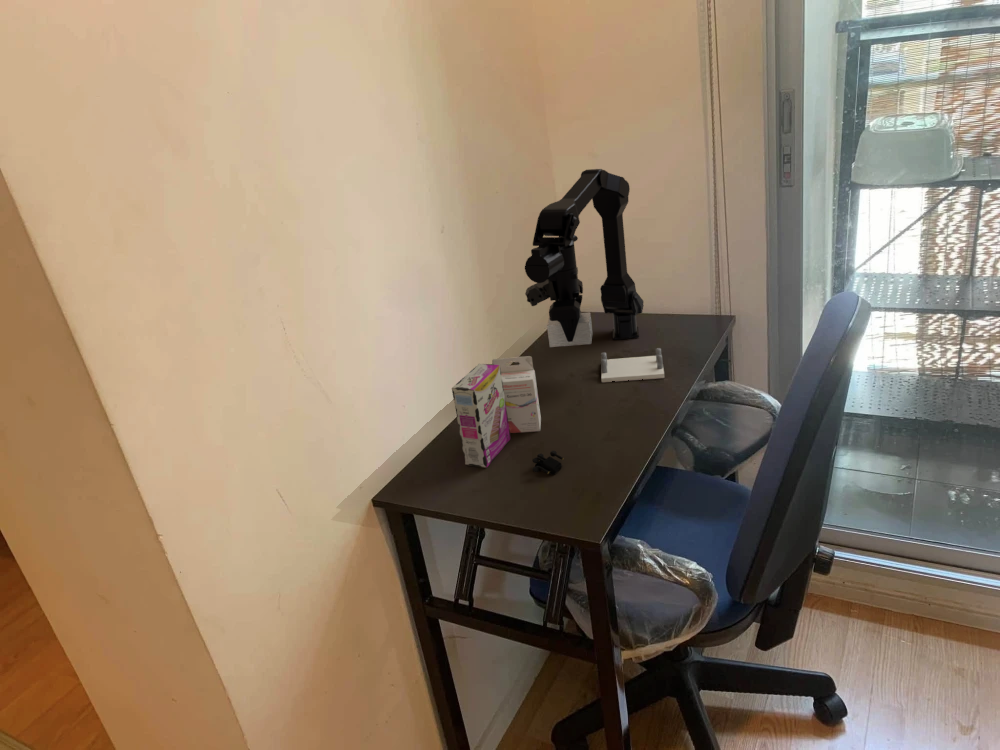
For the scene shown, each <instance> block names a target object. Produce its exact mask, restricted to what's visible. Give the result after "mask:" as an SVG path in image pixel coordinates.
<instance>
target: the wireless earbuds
mask: <svg viewBox="0 0 1000 750" xmlns="http://www.w3.org/2000/svg"><path fill="white" fill-rule="evenodd" d="M549 454H550V456H548V457H547V458H546V457H545V456H544V454H543V453H538V454H537V455H536V456H537V457H534V458H532V461H531V462H532V463H533V464H534V467H533V468H532V472H534V473H539V472H541V471H542V472H543V473H546V474H547V475H549V474H550V475H556V474H558V472H559V471H560V470H561V469H562V466H563V465H562V463H561V461H563V460H564V457H562V456H561V455H559V454H558V453H557V451H556V450H551V451H550V453H549ZM553 457H556V458H558V459H559V460H561V461H558V460H557V459H555V458H553Z"/></svg>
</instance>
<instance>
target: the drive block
mask: <svg viewBox="0 0 1000 750" xmlns="http://www.w3.org/2000/svg"><path fill="white" fill-rule="evenodd" d="M592 324H593V323H592V315H591V312H589V311H588V312H581V314H580V318H579V321H578V325H577V328H576V331H575V335H574V338H573V341H572V342H568V341H567V339H566V336H565V334H564V331H563V329H562V326H561V324H560V322H558V321H550V317H549V318H548V321H547V324H546V328H547V336H548V342H549V348H554V347H568V346H569V347H570V346H581V345H592V339H593V325H592Z"/></svg>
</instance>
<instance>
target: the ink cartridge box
mask: <svg viewBox="0 0 1000 750" xmlns="http://www.w3.org/2000/svg"><path fill="white" fill-rule="evenodd" d="M511 362H513V363H519V364H514V365H512V364H511V365H507V364H510V363H511ZM491 364H494V365H500V369H501V376H502V382H503V389H504V396H505V403H506V409H507V417H508V423H509V430H510V434H516V433H533V432H541V426H542V425H541V424H542V423H541V422H542V417H541V410H540V408H541V407H540V403H539V394H538V387H537V378H536V371H535V369H534V364H533V357H532V356H530V355H528V356H527V355H526V356H515V357H502V358H493V359H491Z"/></svg>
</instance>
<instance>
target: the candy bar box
mask: <svg viewBox="0 0 1000 750" xmlns="http://www.w3.org/2000/svg"><path fill="white" fill-rule="evenodd" d="M451 392H452V397H453V405H454V409H455V413H456V415H455V416H456V421H457V424H458V430H459V437H460V441H461V448H462V453H463V458H464V464H465V465H466V466H470V467H477V468H485V469H487V468H488V467H489V466H490V465H491V463H492V462H493V461H494V460H495V458H496V457H498V455H499V453H500V452H501V451H502V450H503V449H504V448H505V447H506V445H507V444H508V443H509V442H510V440H511V433H510V430H509V423H508V417H507V409H506V403H505V396H504V389H503V382H502V376H501V369H500V365H494V364H492V363H488V364H487V363H478V364H477V365H475V367H473V368H472V369H471V370H470V371H469V372H468V373H467V374H465V376H464V377H462V378H461V379H460V380H459V381H458V382H457V383H456V384H454V385H453V386H452V387H451Z"/></svg>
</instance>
